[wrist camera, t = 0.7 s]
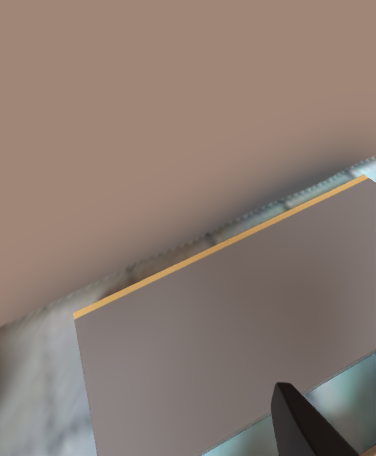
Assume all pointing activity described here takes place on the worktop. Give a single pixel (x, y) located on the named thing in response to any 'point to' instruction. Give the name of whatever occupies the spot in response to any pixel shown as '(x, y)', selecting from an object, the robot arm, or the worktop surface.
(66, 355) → the worktop surface
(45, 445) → the worktop surface
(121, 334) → the dock
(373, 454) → the pallet
